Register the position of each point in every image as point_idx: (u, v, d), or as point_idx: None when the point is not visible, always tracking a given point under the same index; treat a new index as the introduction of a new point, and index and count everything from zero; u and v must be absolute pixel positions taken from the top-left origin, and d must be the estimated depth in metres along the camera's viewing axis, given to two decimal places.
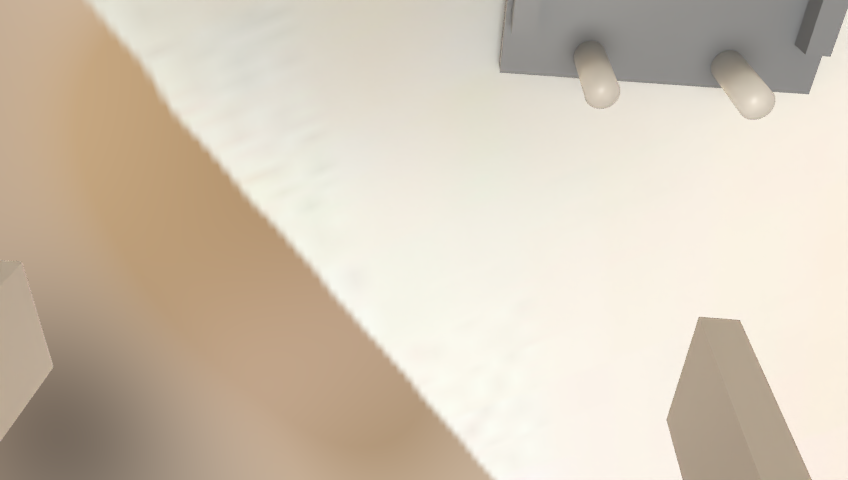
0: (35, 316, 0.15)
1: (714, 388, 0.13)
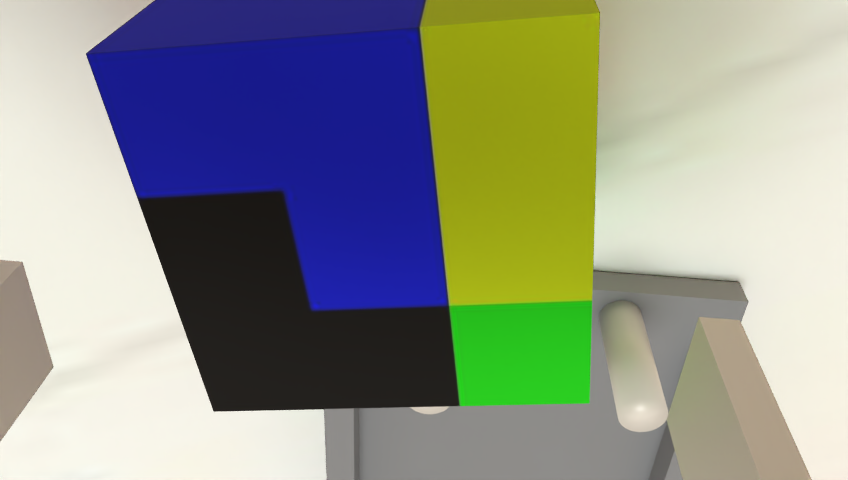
0: (36, 316, 0.15)
1: (714, 388, 0.13)
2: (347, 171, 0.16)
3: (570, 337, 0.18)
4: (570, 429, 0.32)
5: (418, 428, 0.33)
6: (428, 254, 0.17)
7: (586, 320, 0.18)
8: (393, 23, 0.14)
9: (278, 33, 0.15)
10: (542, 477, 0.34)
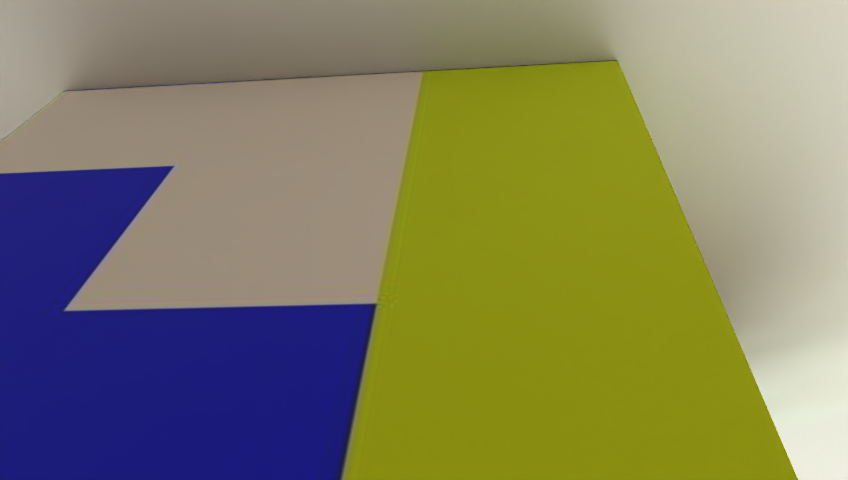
0: None
1: None
2: None
3: None
4: None
5: None
6: None
7: None
8: None
9: None
10: None
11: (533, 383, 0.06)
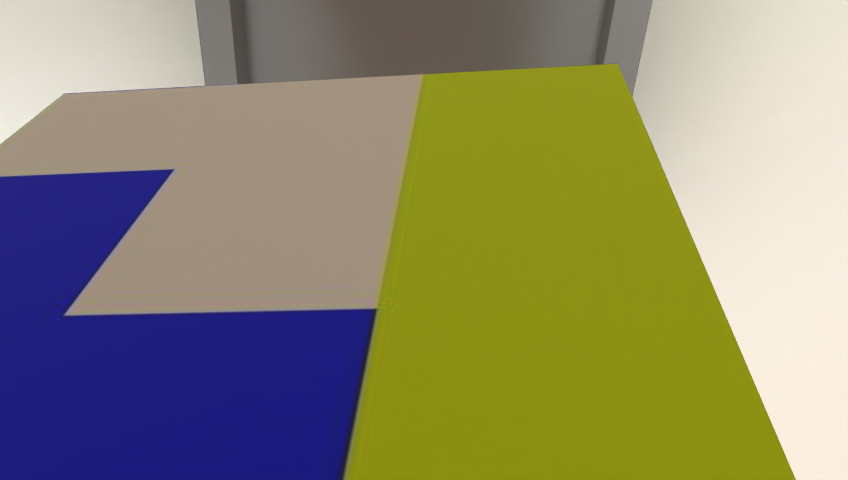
0: None
1: None
2: None
3: None
4: (490, 48, 0.27)
5: (315, 55, 0.28)
6: None
7: None
8: None
9: None
10: None
11: (533, 389, 0.06)
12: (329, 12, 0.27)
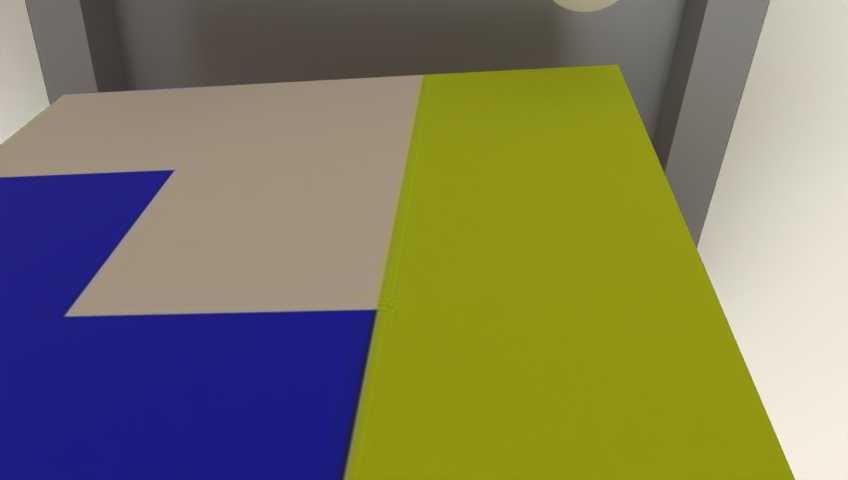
0: None
1: None
2: None
3: None
4: None
5: None
6: None
7: None
8: None
9: None
10: None
11: (533, 392, 0.06)
12: None
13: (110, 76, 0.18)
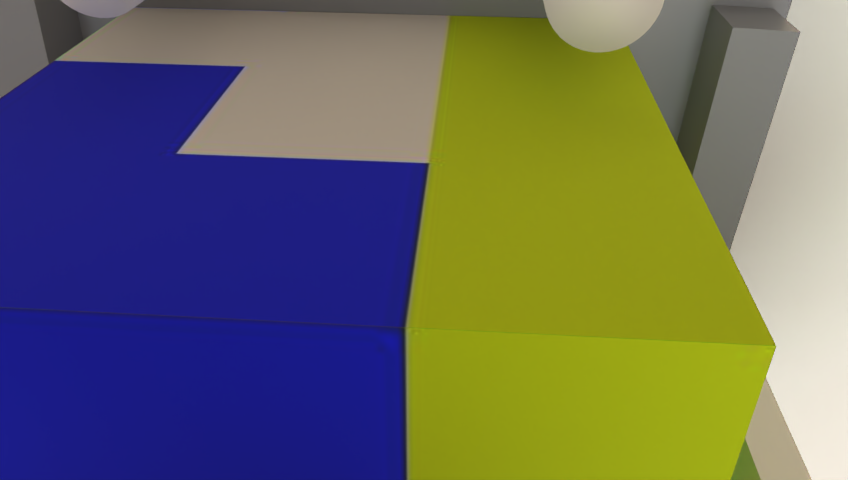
0: None
1: None
2: None
3: None
4: None
5: None
6: None
7: None
8: (353, 301, 0.07)
9: (119, 293, 0.07)
10: None
11: (552, 214, 0.09)
12: None
13: None
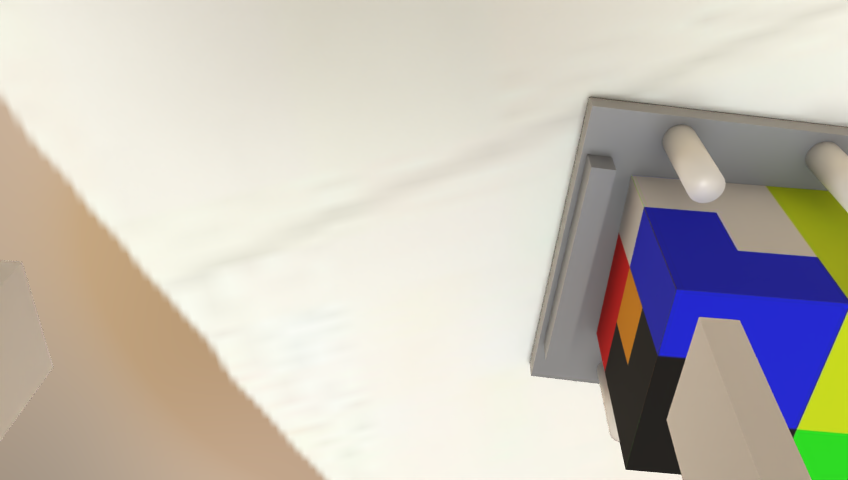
0: (35, 316, 0.15)
1: (714, 388, 0.13)
2: (778, 359, 0.30)
3: None
4: None
5: None
6: (799, 402, 0.31)
7: None
8: (833, 297, 0.29)
9: (774, 292, 0.29)
10: None
11: None
12: None
13: None
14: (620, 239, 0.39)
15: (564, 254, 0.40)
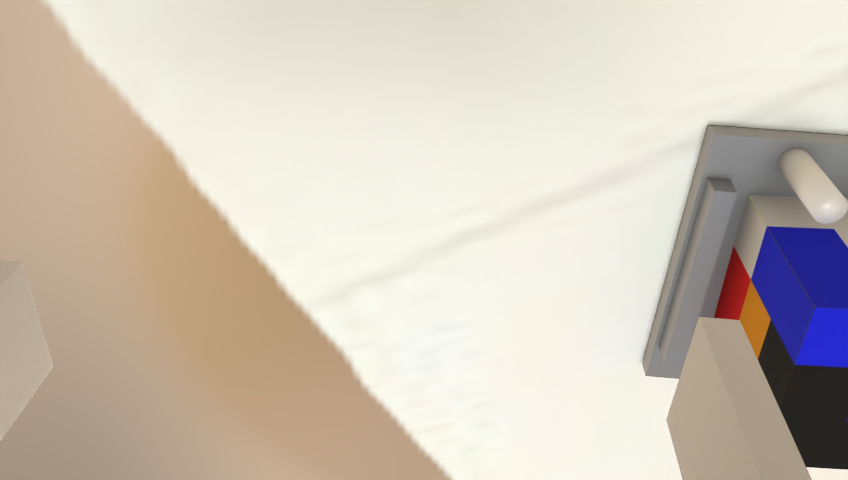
0: (35, 316, 0.15)
1: (714, 388, 0.13)
2: None
3: None
4: None
5: None
6: None
7: None
8: None
9: None
10: None
11: None
12: None
13: None
14: (736, 252, 0.42)
15: (682, 266, 0.43)
